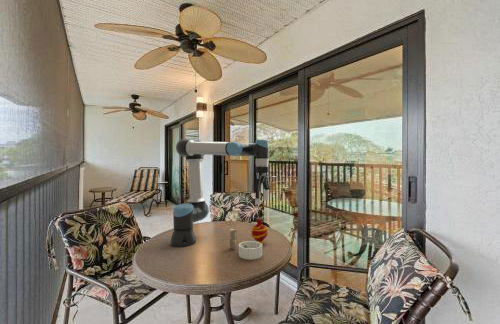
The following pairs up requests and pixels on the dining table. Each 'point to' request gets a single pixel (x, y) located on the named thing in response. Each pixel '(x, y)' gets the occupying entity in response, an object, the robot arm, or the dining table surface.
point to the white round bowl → (250, 250)
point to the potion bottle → (259, 231)
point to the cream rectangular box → (233, 239)
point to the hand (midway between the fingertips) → (261, 202)
